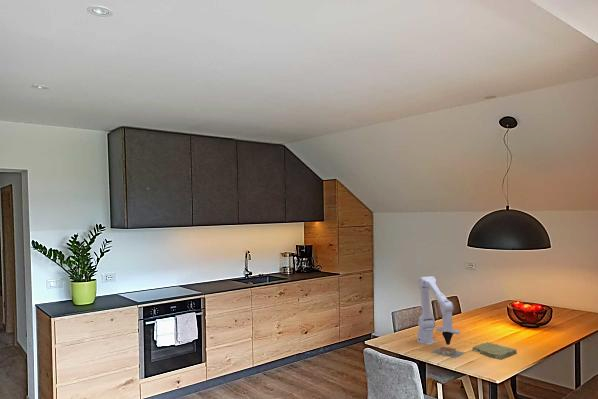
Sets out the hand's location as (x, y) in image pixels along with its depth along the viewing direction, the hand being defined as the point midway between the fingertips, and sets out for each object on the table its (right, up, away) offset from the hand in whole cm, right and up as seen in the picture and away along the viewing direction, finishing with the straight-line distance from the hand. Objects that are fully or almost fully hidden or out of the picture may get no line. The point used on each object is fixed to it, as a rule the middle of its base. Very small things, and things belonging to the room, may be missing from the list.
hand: (448, 344), depth 274 cm
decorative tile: (+28, -6, 0) cm, 28 cm away
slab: (-3, -5, +3) cm, 7 cm away
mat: (0, -6, +1) cm, 6 cm away
